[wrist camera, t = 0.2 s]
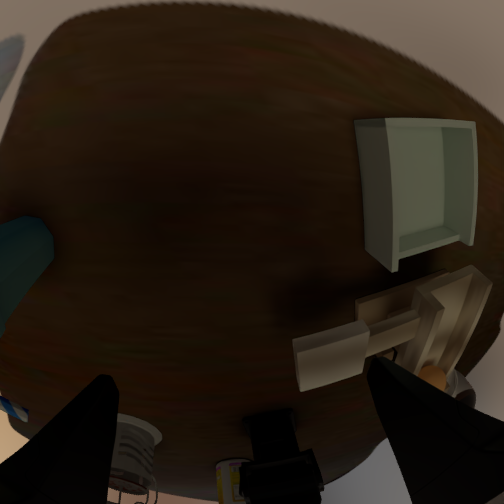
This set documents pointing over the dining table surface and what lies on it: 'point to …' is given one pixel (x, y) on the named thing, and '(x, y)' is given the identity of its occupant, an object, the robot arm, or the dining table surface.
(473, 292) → the lever
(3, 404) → the cup
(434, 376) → the ball
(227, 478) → the supplement bottle
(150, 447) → the french press
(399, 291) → the stand
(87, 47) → the dining table surface
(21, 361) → the dining table surface
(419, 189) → the tray
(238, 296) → the dining table surface
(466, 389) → the spread jar
